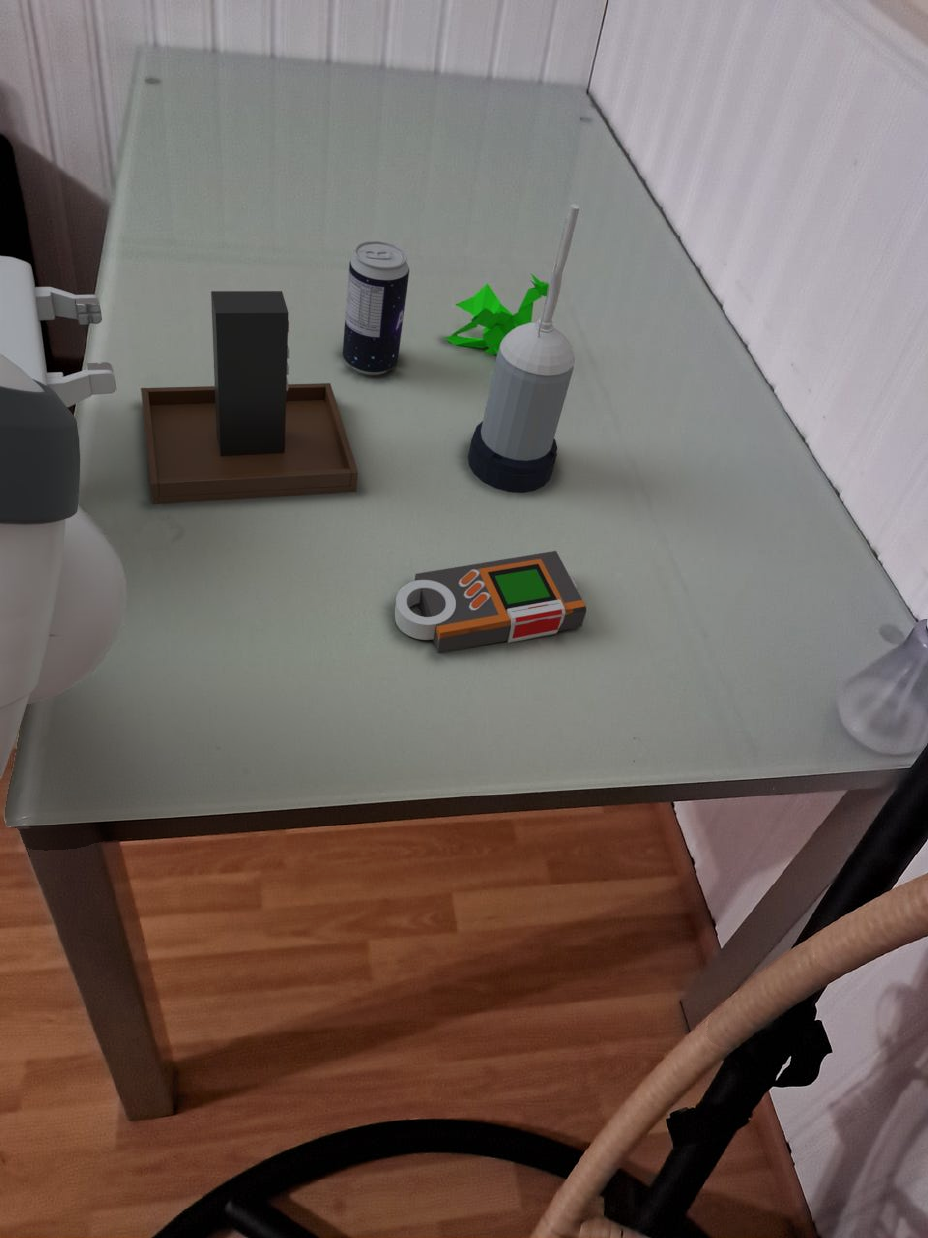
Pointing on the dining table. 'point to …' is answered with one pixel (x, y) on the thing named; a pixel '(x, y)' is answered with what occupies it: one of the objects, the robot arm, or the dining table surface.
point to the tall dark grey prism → (250, 370)
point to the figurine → (495, 316)
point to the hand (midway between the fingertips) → (107, 341)
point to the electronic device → (491, 602)
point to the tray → (200, 473)
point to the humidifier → (526, 396)
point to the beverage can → (375, 307)
